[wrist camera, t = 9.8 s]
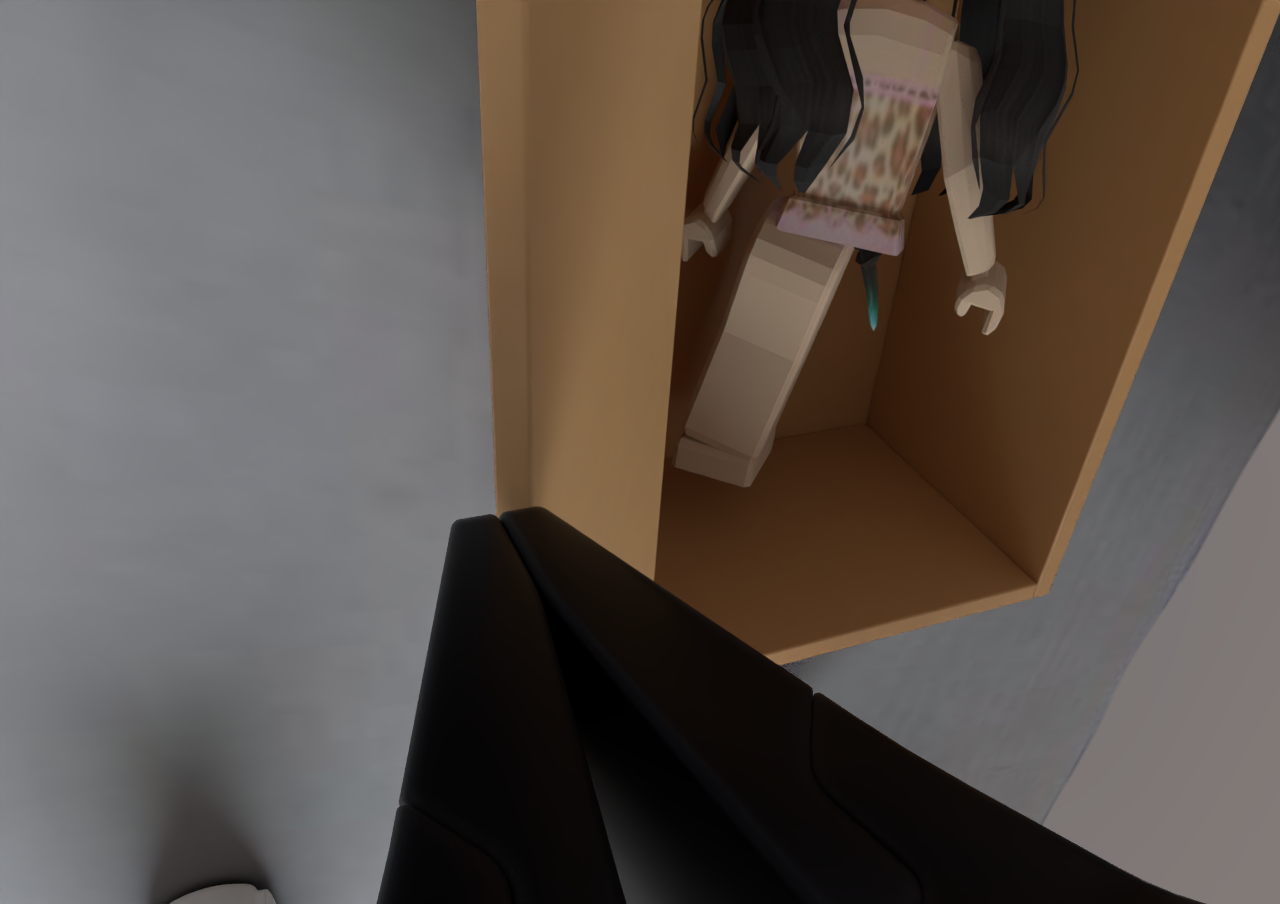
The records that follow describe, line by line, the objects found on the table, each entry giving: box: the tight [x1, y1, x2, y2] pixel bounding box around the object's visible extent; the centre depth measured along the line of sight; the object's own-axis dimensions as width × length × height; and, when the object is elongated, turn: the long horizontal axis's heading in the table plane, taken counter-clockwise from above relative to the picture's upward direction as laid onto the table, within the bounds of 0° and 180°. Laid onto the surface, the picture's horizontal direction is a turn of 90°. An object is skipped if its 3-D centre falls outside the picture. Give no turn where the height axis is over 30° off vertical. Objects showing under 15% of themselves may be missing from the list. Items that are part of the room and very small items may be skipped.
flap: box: [476, 0, 702, 581], centre depth 11 cm, size 18×5×1 cm
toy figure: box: [672, 0, 1079, 487], centre depth 18 cm, size 7×6×15 cm
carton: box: [654, 0, 1280, 665], centre depth 19 cm, size 18×11×8 cm, turn 177°
